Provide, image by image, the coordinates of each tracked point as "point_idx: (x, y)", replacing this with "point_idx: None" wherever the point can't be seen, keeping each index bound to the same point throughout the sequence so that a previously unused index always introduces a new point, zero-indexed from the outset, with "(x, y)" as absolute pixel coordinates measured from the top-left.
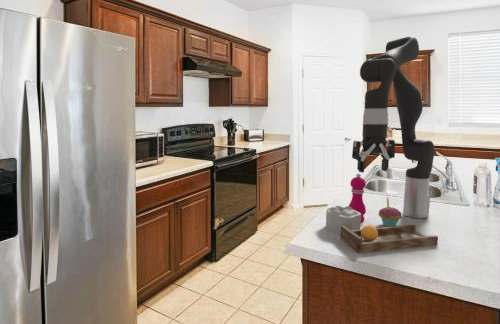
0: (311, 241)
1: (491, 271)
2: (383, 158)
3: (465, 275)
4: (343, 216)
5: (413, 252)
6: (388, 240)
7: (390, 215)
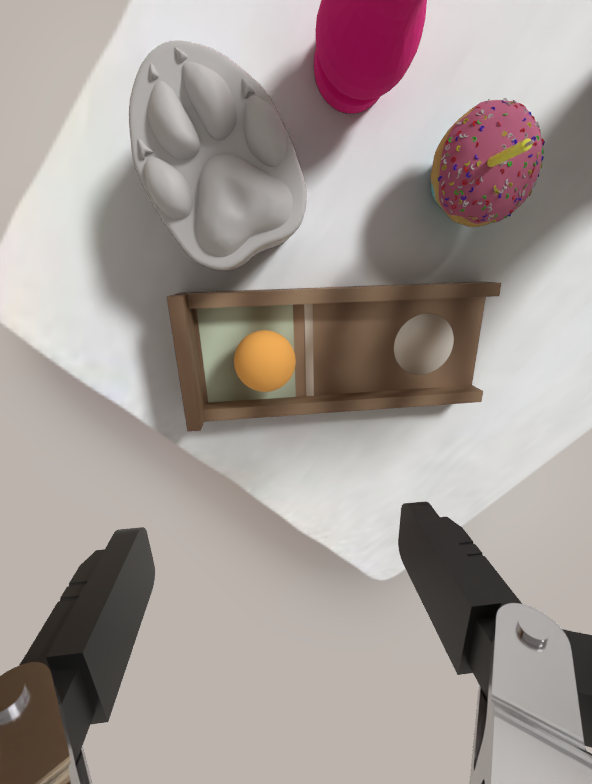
0: (56, 292)
1: None
2: (488, 643)
3: (385, 535)
4: (190, 246)
5: (360, 426)
6: (307, 407)
7: (459, 213)
